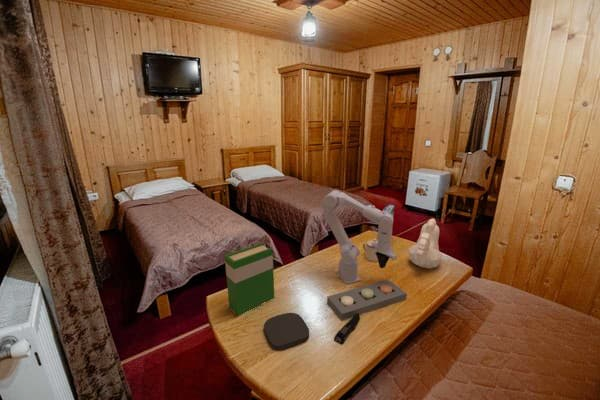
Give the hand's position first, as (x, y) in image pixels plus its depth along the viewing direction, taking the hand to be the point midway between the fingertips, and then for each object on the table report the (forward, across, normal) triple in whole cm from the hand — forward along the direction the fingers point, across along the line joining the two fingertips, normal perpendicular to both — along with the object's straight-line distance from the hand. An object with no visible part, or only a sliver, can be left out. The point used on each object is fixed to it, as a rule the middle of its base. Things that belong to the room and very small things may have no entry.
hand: (382, 267), depth 130 cm
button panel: (+9, -7, +13) cm, 18 cm away
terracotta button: (+8, -7, +3) cm, 11 cm away
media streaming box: (+10, -10, +51) cm, 53 cm away
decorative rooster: (+10, +5, -30) cm, 32 cm away
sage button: (+7, -7, +13) cm, 16 cm away
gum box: (+10, +34, -30) cm, 46 cm away
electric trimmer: (+10, -18, +30) cm, 37 cm away
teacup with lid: (+10, +24, -13) cm, 29 cm away
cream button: (+8, -7, +23) cm, 25 cm away
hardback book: (+10, +12, +58) cm, 60 cm away
